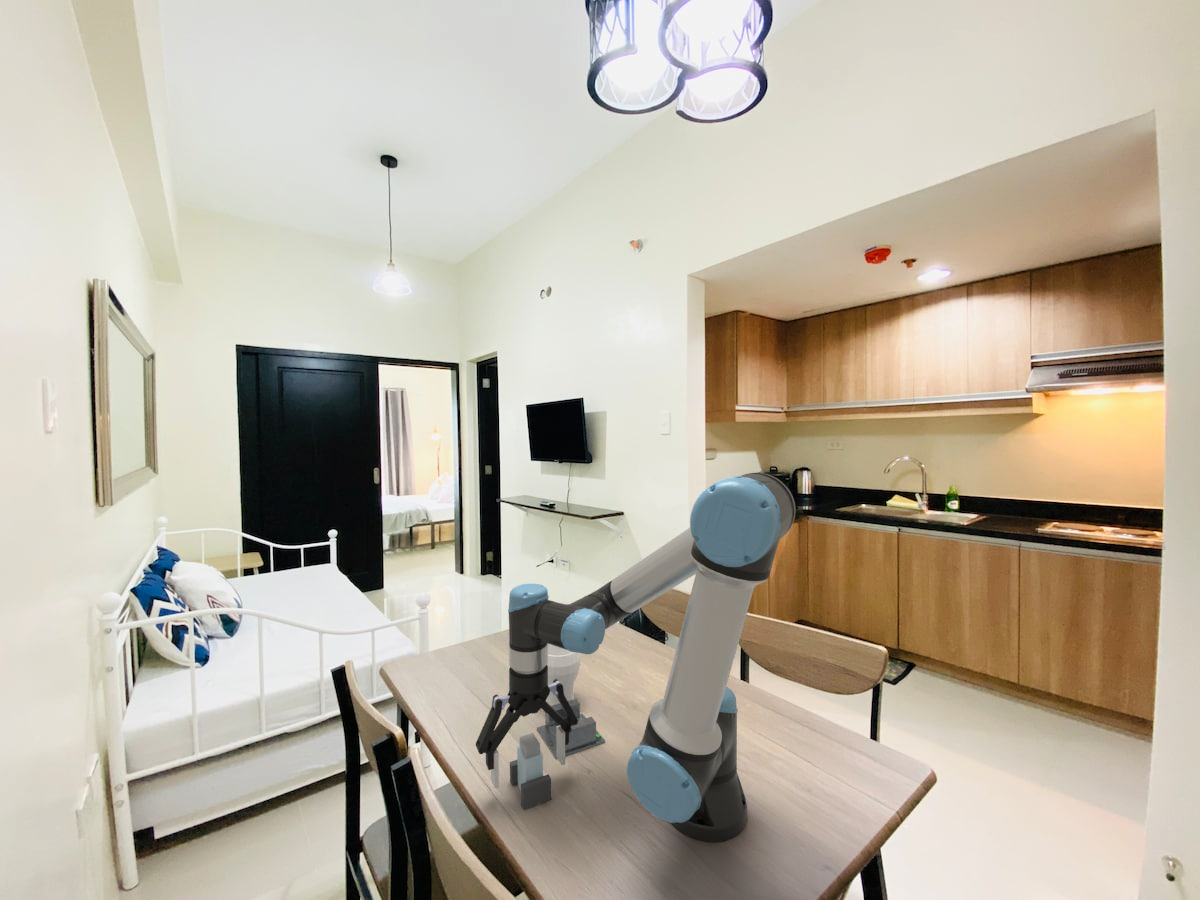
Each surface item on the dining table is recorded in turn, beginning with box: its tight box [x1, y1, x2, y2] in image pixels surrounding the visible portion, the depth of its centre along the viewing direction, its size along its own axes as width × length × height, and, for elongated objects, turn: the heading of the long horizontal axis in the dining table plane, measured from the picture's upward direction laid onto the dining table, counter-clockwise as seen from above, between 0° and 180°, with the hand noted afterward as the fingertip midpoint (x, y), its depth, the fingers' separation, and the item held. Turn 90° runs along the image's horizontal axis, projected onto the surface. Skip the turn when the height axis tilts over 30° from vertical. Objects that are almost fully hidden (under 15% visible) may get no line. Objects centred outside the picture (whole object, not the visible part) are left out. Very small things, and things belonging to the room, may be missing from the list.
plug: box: [516, 732, 544, 792], centre depth 94 cm, size 5×4×10 cm
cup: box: [546, 644, 581, 706], centre depth 124 cm, size 11×11×15 cm
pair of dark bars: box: [509, 759, 553, 811], centre depth 94 cm, size 8×6×4 cm, turn 28°
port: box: [536, 698, 606, 760], centre depth 111 cm, size 12×12×5 cm
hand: (528, 771), depth 94 cm, fingers open, 13 cm apart
